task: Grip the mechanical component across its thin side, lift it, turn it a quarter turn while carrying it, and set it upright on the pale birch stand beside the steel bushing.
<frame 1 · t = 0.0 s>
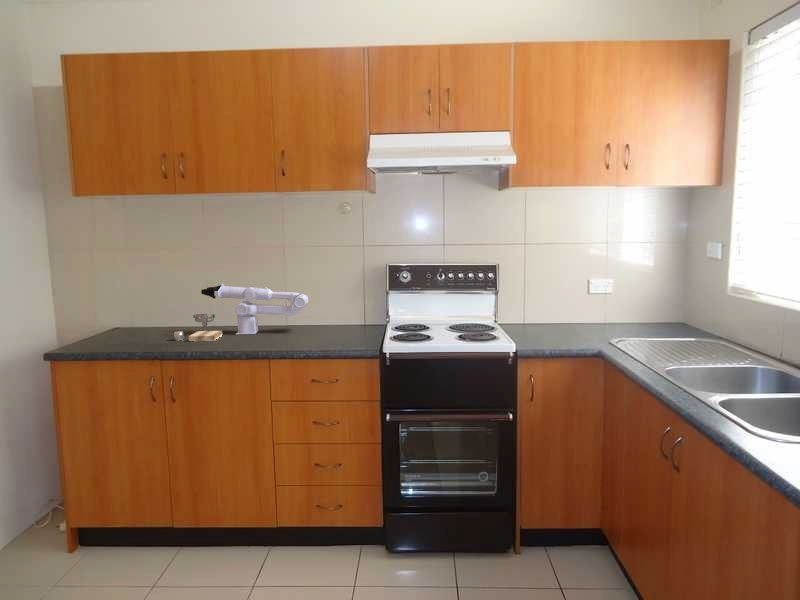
hand: (204, 290, 269), 22 cm above the worktop, tool horizontal, fingers open, 7 cm apart
steel bushing: (179, 340, 259), on the worktop
mechanical component: (205, 334, 272), on the worktop
stand: (206, 338, 261), on the worktop
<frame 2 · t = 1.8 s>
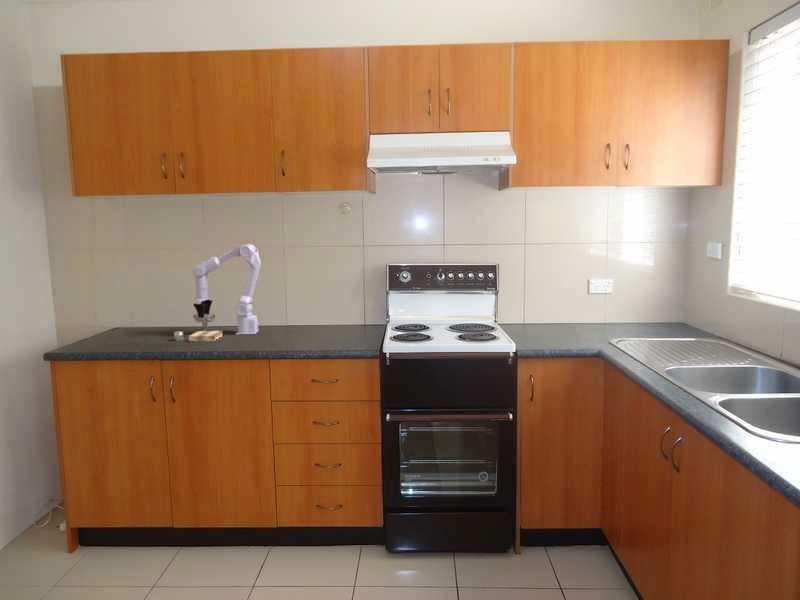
hand: (204, 316, 271), 9 cm above the worktop, tool pointing down, fingers open, 7 cm apart
nothing on the worktop moved.
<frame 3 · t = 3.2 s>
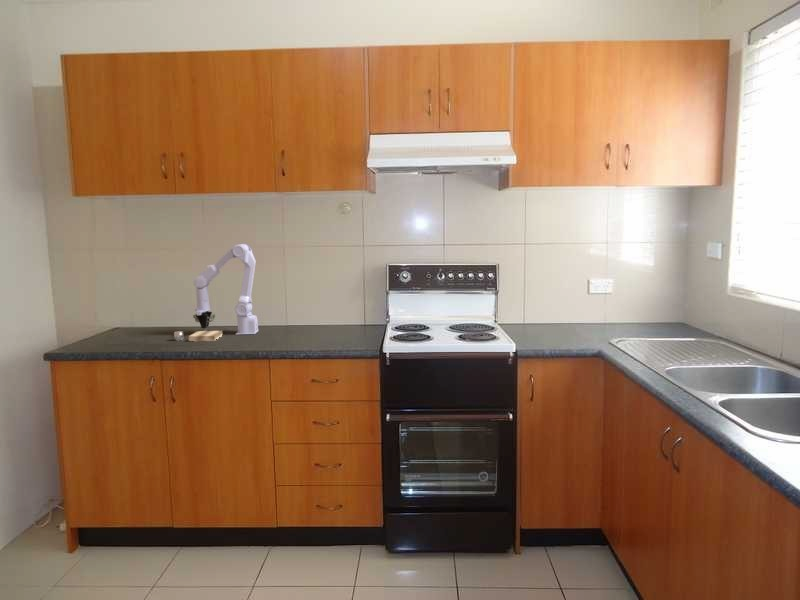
hand: (205, 327, 272), 3 cm above the worktop, tool pointing down, fingers closed on mechanical component, 3 cm apart
mechanical component: (205, 334, 272), on the worktop, touching gripper
everything else where it was.
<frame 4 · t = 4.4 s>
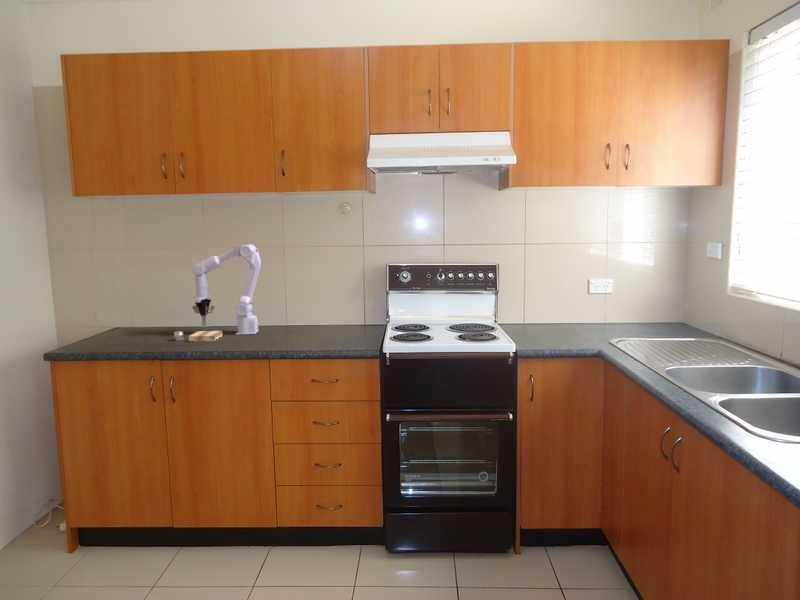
hand: (204, 314, 271), 10 cm above the worktop, tool pointing down, fingers closed on mechanical component, 3 cm apart
mechanical component: (204, 325, 271), point 4 cm above the worktop, touching gripper
everything else where it was.
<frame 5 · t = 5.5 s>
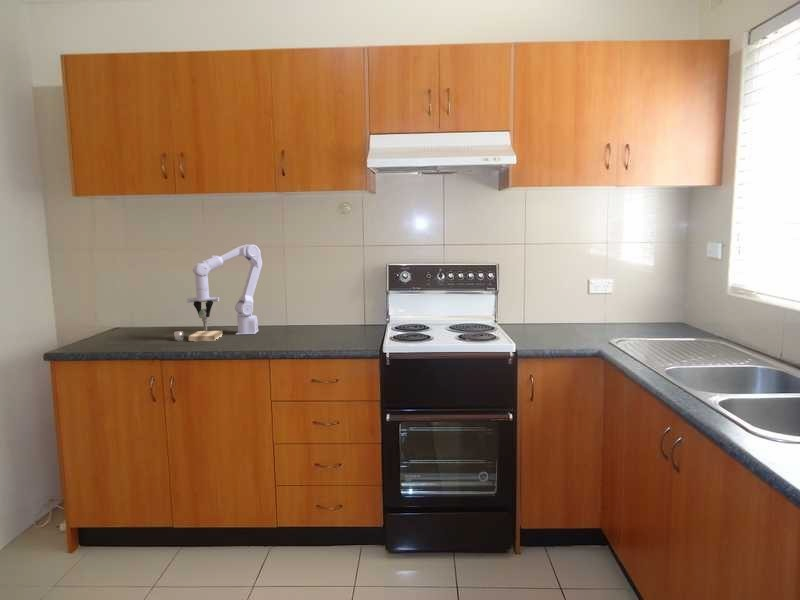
hand: (204, 317, 260), 10 cm above the worktop, tool pointing down, fingers closed on mechanical component, 3 cm apart
mechanical component: (205, 330, 261), point 4 cm above the worktop, touching gripper
everything else where it was.
when the fingers open (7 cm above the worktop, at t = 7.1 s): mechanical component stays where it is, resting on stand.
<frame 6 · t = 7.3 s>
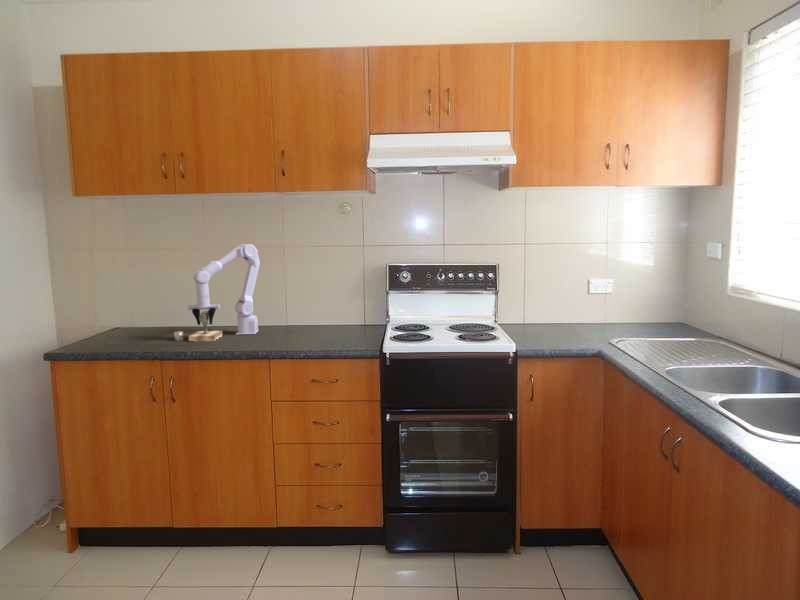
hand: (205, 324, 260), 7 cm above the worktop, tool pointing down, fingers open, 5 cm apart
mechanical component: (205, 333, 261), point 2 cm above the worktop, touching stand
everything else where it was.
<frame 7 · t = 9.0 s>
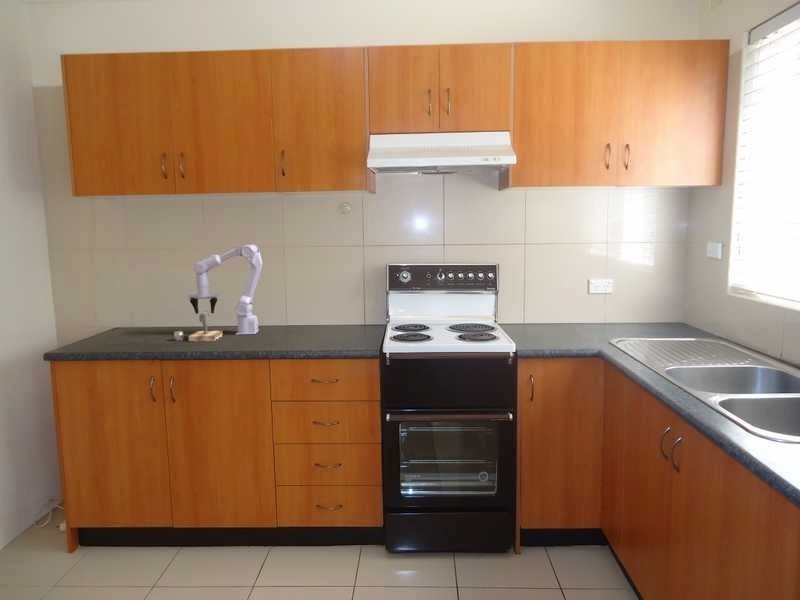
hand: (204, 313, 271), 10 cm above the worktop, tool pointing down, fingers open, 7 cm apart
nothing on the worktop moved.
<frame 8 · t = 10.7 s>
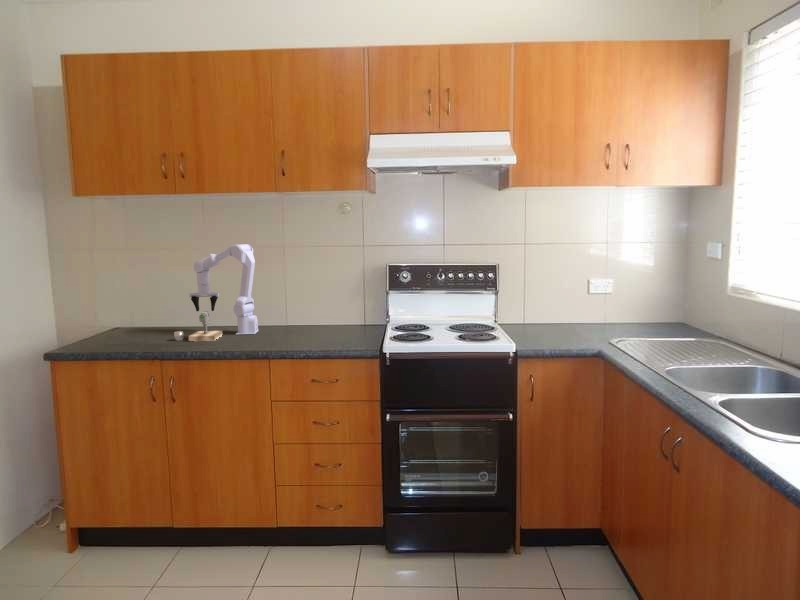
hand: (205, 310, 279), 10 cm above the worktop, tool pointing down, fingers open, 7 cm apart
nothing on the worktop moved.
at the end: mechanical component 0.1 cm off-centre on the stand, point 2.3 cm above the stand's base; mechanical component tilted 0°; the gripper is holding nothing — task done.
